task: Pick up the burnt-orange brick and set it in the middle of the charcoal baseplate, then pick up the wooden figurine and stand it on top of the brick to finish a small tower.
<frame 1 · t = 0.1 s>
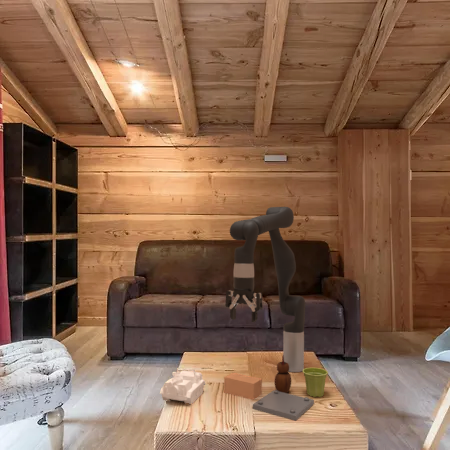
hand: (243, 320, 144), 29 cm above the table, tool pointing down, fingers open, 8 cm apart
toy tank: (181, 399, 146), on the table
baseplate: (283, 406, 139), on the table
wooden figurine: (282, 392, 153), on the table
plant pot: (315, 394, 151), on the table
brick: (242, 393, 151), on the table
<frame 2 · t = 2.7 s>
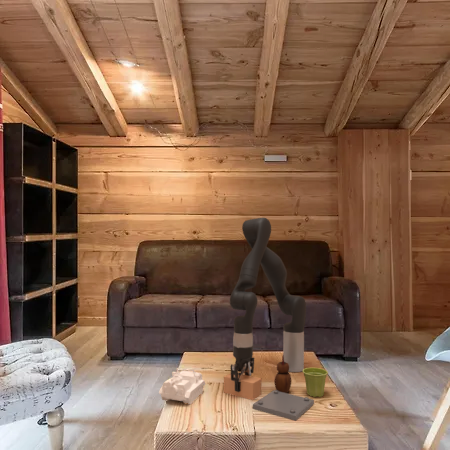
hand: (242, 388, 151), 2 cm above the table, tool pointing down, fingers closed on brick, 6 cm apart
brick: (242, 393, 151), on the table, touching gripper
everything else where it was.
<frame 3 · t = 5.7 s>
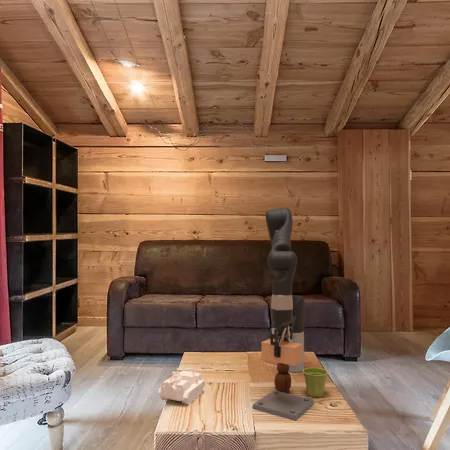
hand: (281, 354, 140), 18 cm above the table, tool pointing down, fingers closed on brick, 6 cm apart
brick: (281, 360, 140), point 16 cm above the table, touching gripper
everything else where it was.
when the fingers open (5 cm above the table, at t = 8.8 s): brick drops 1 cm, resting on baseplate.
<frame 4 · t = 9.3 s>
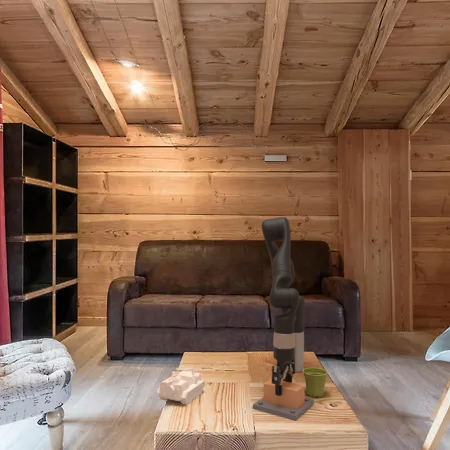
hand: (283, 391, 140), 5 cm above the table, tool pointing down, fingers open, 8 cm apart
brick: (283, 401, 140), point 1 cm above the table, touching baseplate
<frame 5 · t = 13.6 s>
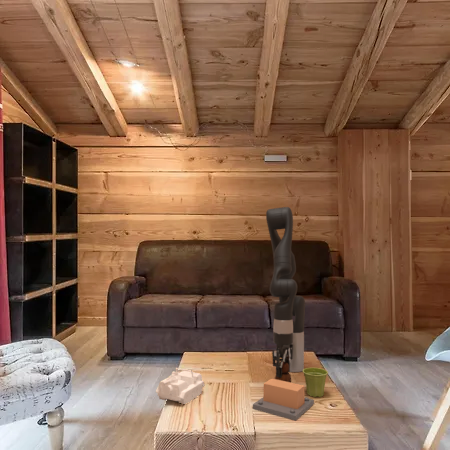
hand: (282, 374, 153), 7 cm above the table, tool pointing down, fingers closed on wooden figurine, 6 cm apart
wooden figurine: (282, 392, 153), on the table, touching gripper
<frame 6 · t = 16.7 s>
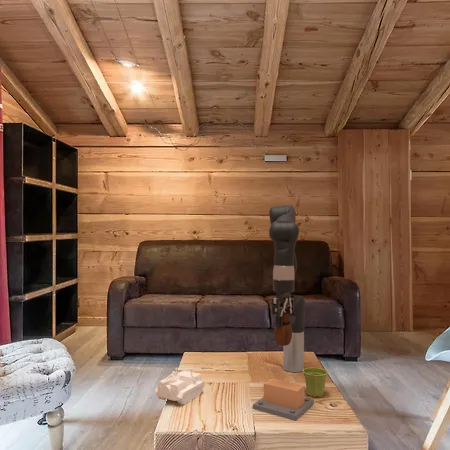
hand: (283, 325, 141), 28 cm above the table, tool pointing down, fingers closed on wooden figurine, 6 cm apart
wooden figurine: (283, 345, 140), point 21 cm above the table, touching gripper
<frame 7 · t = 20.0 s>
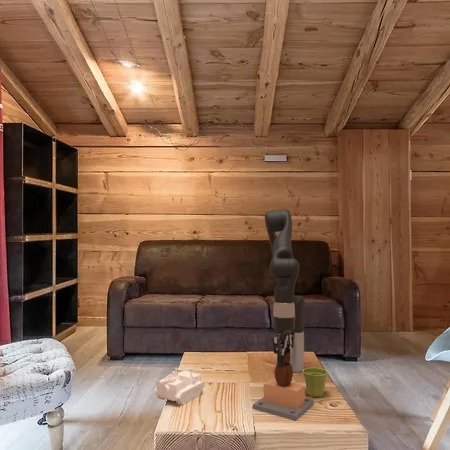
hand: (283, 363, 140), 15 cm above the table, tool pointing down, fingers closed on wooden figurine, 5 cm apart
wooden figurine: (283, 384, 140), point 7 cm above the table, touching brick, gripper
brick: (284, 401, 140), point 1 cm above the table, touching baseplate, wooden figurine
when the fingers open (15 cm above the table, at t = 20.2 s): wooden figurine stays where it is, resting on brick.
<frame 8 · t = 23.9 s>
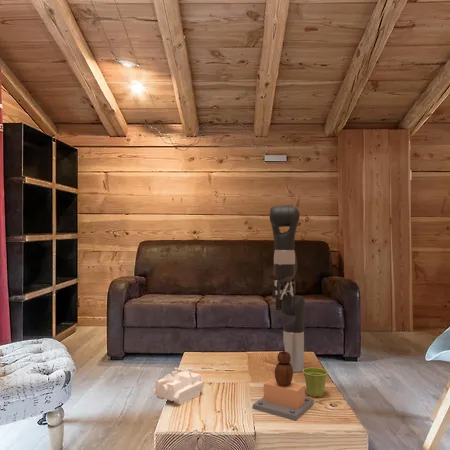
hand: (284, 308, 141), 34 cm above the table, tool pointing down, fingers open, 8 cm apart
wooden figurine: (283, 385, 140), point 7 cm above the table, touching brick
at the end: brick 0.3 cm off-centre on the baseplate, point 1.5 cm above the baseplate's base; wooden figurine 0.1 cm off-centre on the brick, point 5.8 cm above the brick's base; wooden figurine tilted 0° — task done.
